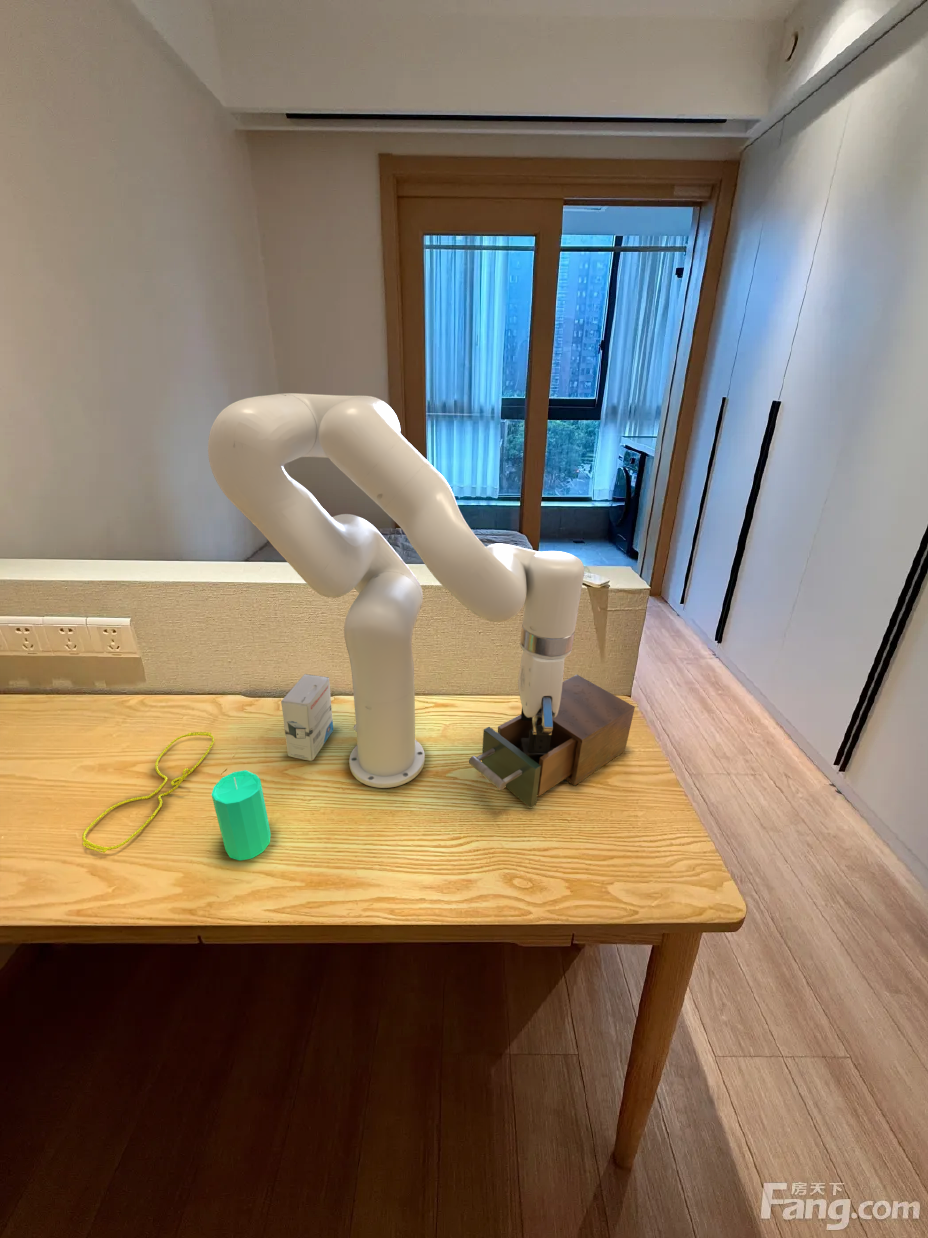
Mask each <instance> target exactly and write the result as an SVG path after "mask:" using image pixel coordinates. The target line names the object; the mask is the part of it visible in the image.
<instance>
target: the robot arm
mask: <svg viewBox="0 0 928 1238" xmlns="http://www.w3.org/2000/svg"><path fill="white" fill-rule="evenodd" d="M207 452H208V454H207V455H208V461H209V467H210V469H211V470H210V471H211V472H212V476H213V477H214V480H215V481H216V483H217V485H218V487H219V488H220V490H221V491H222V493H223V494H224V495H225V497H226V498H227V499H228V500H229V502H231V504H233V506H234V507H235V508H236V509H237V510H238V511H239V512H240V513H242V514H243V515H244V516H245V517H246V518H247V519H248V520H249V521H250V522H251V524H253V525H254V526H255V527H256V528H257V530H258V531H259V532H260V533H261V534H262V535H263V536H264V537H265V538H266V539H267V541H268V542H269V543H270V544H271V545H272V546H273V548H274V549H275V550H276V551H277V552H278V553H279V555H281V556H282V558H284V560H285V561H286V562H287V563H288V565H290V566H291V567H292V569H293V570H294V571H295V572H296V573H297V575H298V576H299V577H300V578H301V579H302V580H303V581H304V582H305V583H306V584H307V585H308V587H310V588H311V589H312V590H313V591H314V592H316V593H317V594H318V595H320V596H322V597H326V598H330V599H337V598H341V597H343V596H346V595H347V594H349V593H350V592H352V591H353V590H355V591H356V592H357V594H358V595H357V596H356V597H355V599H354V600H353V602H352V604H351V605H350V607H349V609H348V611H347V614H346V617H345V618H344V619H345V620H344V625H343V637H344V643H345V647H346V651H347V654H348V658H349V664H350V671H351V682H352V683H351V684H352V691H353V705H354V718H355V724H354V725H353V727H352V730H353V731H354V732H355V733H356V743H357V744H356V745H355V746H354V747H353V749H352V750H351V752H350V754H349V758H348V759H349V760H348V762H349V763H348V764H349V771H350V772H351V774H352V776H353V777H354V778H355V779H356V780H357V781H359V782H360V783H361V784H364V785H366V786H369V787H372V788H377V789H378V788H379V789H387V788H388V789H389V788H394V787H395V788H396V787H399V786H402V785H404V784H406V783H410V781H412V780H414V779H415V778H416V777H417V776H418V775H419V774H420V773H421V772H422V770H423V768H424V766H425V759H426V755H425V751H424V747H423V746H422V744H421V743H420V742H418V740H417V739H416V690H415V689H416V687H415V663H414V656H413V645H412V642H413V634H414V633H413V632H414V629H415V626H416V623H417V621H418V617H419V614H420V612H421V609H422V606H423V603H424V593H423V592H424V591H423V588H422V585H421V584H420V583H421V582H419V580H418V578H417V576H416V575H415V574H414V572H413V571H412V570H411V568H410V567H409V566H408V565H407V564H406V563H405V561H404V560H403V559H402V557H401V556H400V555H399V554H398V552H396V551H395V549H394V548H393V546H392V545H390V543H389V542H388V541H387V539H386V537H384V536H383V535H382V533H381V532H380V531H379V530H378V529H377V528H376V527H375V526H374V524H372V523H371V522H369V521H368V520H366V519H365V518H363V517H360V516H358V515H355V514H352V513H351V514H350V513H341V514H337V515H333V516H331V515H330V514H329V513H328V512H327V510H326V509H325V508H323V506H322V505H321V504H320V502H319V501H318V500H317V499H316V497H315V496H314V495H313V493H311V492H310V491H309V490H308V489H307V488H306V487H305V486H304V485H302V484H301V483H299V482H298V481H297V480H295V479H294V478H293V477H292V476H290V475H289V474H288V472H287V471H286V469H285V465H286V464H288V463H291V462H293V461H295V460H298V459H300V458H326V459H327V458H328V459H329V460H330V462H331V463H332V464H333V465H334V466H335V467H337V468H338V470H340V471H341V472H342V473H343V474H344V475H345V476H346V477H347V478H348V479H349V480H350V481H352V483H354V484H355V485H356V486H357V487H358V488H359V489H360V490H361V491H362V492H363V493H364V494H365V495H367V496H368V497H369V498H370V499H371V500H372V501H373V502H374V503H375V504H376V505H377V506H378V507H380V508H381V509H382V511H383V512H384V513H386V515H388V516H389V517H390V518H391V520H392V521H394V522H395V524H397V526H398V527H400V529H401V530H402V531H403V533H404V534H405V537H406V539H407V540H408V542H409V544H410V545H411V547H412V548H413V550H414V551H415V552H416V553H417V555H418V556H419V558H420V559H421V561H422V562H423V564H424V565H425V567H426V568H427V569H428V570H429V572H430V573H431V574H432V576H433V577H434V578H435V579H436V581H438V583H439V584H440V585H441V586H442V587H443V588H444V589H445V590H447V592H448V593H449V594H450V595H451V596H452V597H454V598H455V599H456V600H457V601H458V602H459V603H460V604H461V605H462V606H464V608H466V609H467V610H468V611H469V612H471V613H472V614H473V615H475V616H477V617H478V618H480V619H482V620H484V621H488V622H492V623H501V622H503V623H504V622H507V621H509V620H511V619H512V620H513V618H515V617H516V616H517V615H518V614H519V613H520V612H521V610H522V609H523V611H522V620H521V621H522V623H521V630H520V639H519V646H520V648H521V650H522V652H521V658H520V662H519V670H518V677H517V689H518V694H519V699H520V704H521V712H520V715H521V720H522V721H532V730H530V733H529V740H528V748H527V750H528V752H529V753H548V752H549V747H550V740H551V735H552V730H553V721H552V717H553V718H555V717H556V716H557V714H558V711H559V706H560V700H561V692H562V684H563V681H564V672H565V660H566V658H567V657H568V656H570V655H571V654H572V651H573V647H574V646H573V645H574V639H575V633H576V627H577V621H578V615H579V614H578V613H579V610H580V609H579V608H580V601H581V596H582V590H583V584H584V576H585V566H584V563H583V561H582V559H580V558H579V557H578V556H576V555H574V554H572V553H568V552H565V551H559V550H558V551H557V550H548V551H547V550H546V551H537V550H533V549H530V548H529V549H528V548H526V547H525V548H524V547H521V546H516V545H512V544H509V543H492V544H489V545H485V544H483V542H482V541H481V540H480V539H479V538H478V537H477V535H476V534H475V533H474V532H473V530H472V529H471V527H470V526H469V524H468V523H467V522H466V520H465V518H464V515H463V514H462V512H461V510H460V508H459V505H458V503H457V500H456V497H455V494H454V491H453V490H452V487H451V486H450V484H449V483H448V480H447V479H446V478H445V476H443V475H442V474H441V473H440V472H439V471H438V470H437V469H436V468H435V467H434V466H433V465H432V464H431V463H430V462H429V461H428V460H427V459H426V458H425V457H424V456H423V455H422V454H421V453H420V452H419V451H418V450H417V449H416V447H414V446H413V445H412V444H411V443H410V442H409V441H408V440H407V439H406V438H405V437H404V436H403V435H402V433H401V425H400V421H399V419H398V416H397V414H396V413H395V411H394V410H393V409H392V407H391V406H390V405H389V404H388V403H386V402H385V401H384V400H382V399H380V398H378V397H375V396H371V395H337V394H335V395H334V394H317V393H316V394H315V393H295V392H292V393H291V392H287V393H286V392H285V393H284V392H283V393H275V394H268V395H258V396H251V397H246V398H242V399H239V400H237V401H235V402H232V403H230V404H229V405H227V406H226V407H224V408H223V409H222V410H221V411H220V412H219V414H218V415H217V416H216V418H215V419H214V421H213V422H212V425H211V428H210V431H209V435H208V442H207ZM541 712H542V713H541ZM541 718H542V724H541V725H538V726H537V721H540V719H541Z"/></svg>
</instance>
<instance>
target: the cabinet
mask: <svg viewBox="0 0 928 1238" xmlns="http://www.w3.org/2000/svg"><path fill="white" fill-rule="evenodd" d="M635 708H636V706H635V705H634V704H633V705H632V704H631V703H629V702H628V701H625V700H624V699H622V698H620V697H618V696H617V695H615V694H613V693H611V692H609V691H607V690H606V689H604V688H603V687H600V686H599V685H597V684H595V683H593V682H592V681H589V680H588V679H586V678H585V677H583V676H581V675H579V674H574V675H573V676H571V677H570V678H567V679H565V680H563V684H562V692H561V700H560V706H559V711H558V714H557V716H556V717H555V718H553V717H552V721H553V725H555V726H556V727H558V728H559V729H561V730H562V731H564V732H565V733H566V734H568V735H569V736H571V737H572V738H574V739H575V740H577V741H578V743H577V749H576V755H575V761H574V767H573V773H572V774H571V775H570V776H568V777H567V778H565V779H564V780H566V781H567V782H568V783H569V784H571V785H572V786H577V785H578V784H579V783H581V782H583V781H584V780H585V779H587V778H588V777H589V776H591V775H593V774H594V773H595V772H596V771H598V770H600V769H601V768H602V767H604V766H606V765H607V764H608V763H610V762H611V761H612V760H614V759H615V758H616V757H618V756H620V755H621V754H622V753H624V752H626V749H627V744H628V740H629V735H630V731H631V726H632V721H633V718H634V713H635V710H636V709H635ZM541 713H542V712H541Z"/></svg>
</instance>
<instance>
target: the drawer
mask: <svg viewBox="0 0 928 1238" xmlns="http://www.w3.org/2000/svg"><path fill="white" fill-rule="evenodd" d="M541 724H542V718H541V719H540V721H537V726H538V725H541ZM530 730H532V721H522V720H521V714H519V715H517V716H515V717H513V718H512V719H509V720H508V721H506V722H504V723H502V724H500V725H498V726H497V731H496V730H495V729H493V728H492V727H490V726H487V727H485V728H484V729H483V732H482V733H483V734H482V749H481V750H482V751H481V754H479V755H478V756H475V755H472V756H471V757H470V758H469V759H468V764H469V765H470V766H471V767H473V769H475V770H476V771H477V772H478V773H479V774H481V775H482V776H483V777H484V778H485V779H486V780H487V781H489V782H490V783H491V784H492V785H493V786H494V787H496V788H497V790H499V791H502V790H505V788H506V789H507V790H509V791H510V792H511V793H512V794H513V795H514V796H516V798H517V799H519V800H520V801H521V802H522V803H524V804H525V805H526V806H527V807H528V808H530V809H532V808H533V807H534V806H536V805H537V800H538V797H540V796H541V795H544V794H545V793H546V792H547V791H549V790H550V789H552V788H554V787H555V786H556V785H558V784H559V783H561V782H563V781H564V780H566V779H565V778H567V777H568V776H570V775H571V774H572V773H573V767H574V761H575V755H576V749H577V743H578V741H577V740H575V739H574V738H572V737H571V736H569V735H568V734H566V733H565V732H564V731H562V730H561V729H559V728H558V727H556V726H555V725H553V730H552V735H551V740H550V747H549V752H548V753H546V754H545V755H543V756H542V757H540V759H539V764H538V763H536V762H535V761H534V760H532V759H531V758H530V757H529V756H527V755H526V754H525V753H523V752H522V751H521V750H520V742H521V738H529V733H530Z"/></svg>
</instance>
